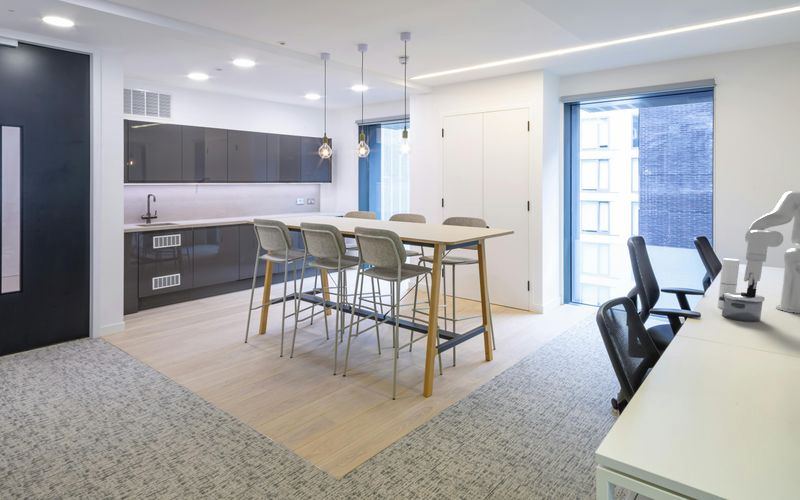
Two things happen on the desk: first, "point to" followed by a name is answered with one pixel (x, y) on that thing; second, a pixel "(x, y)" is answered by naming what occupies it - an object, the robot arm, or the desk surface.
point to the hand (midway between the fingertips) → (750, 296)
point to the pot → (741, 310)
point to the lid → (743, 297)
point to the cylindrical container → (728, 277)
